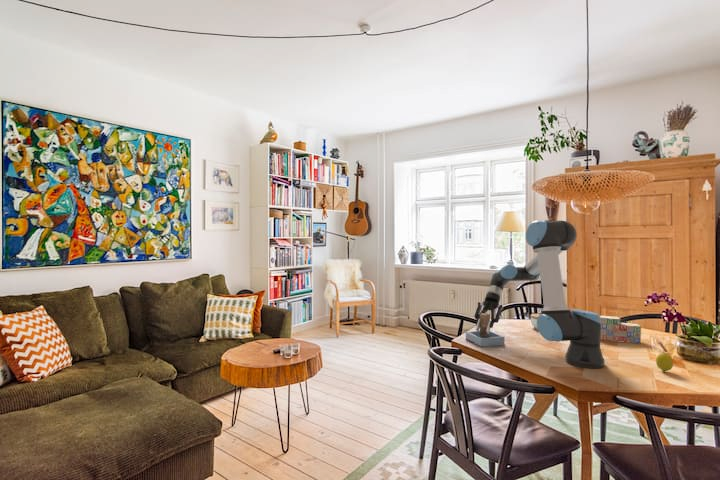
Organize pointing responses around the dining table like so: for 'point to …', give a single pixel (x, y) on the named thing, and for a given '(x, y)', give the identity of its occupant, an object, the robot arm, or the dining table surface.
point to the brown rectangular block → (484, 325)
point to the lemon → (664, 362)
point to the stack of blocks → (619, 330)
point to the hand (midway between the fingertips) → (482, 331)
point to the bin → (491, 341)
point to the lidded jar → (534, 319)
